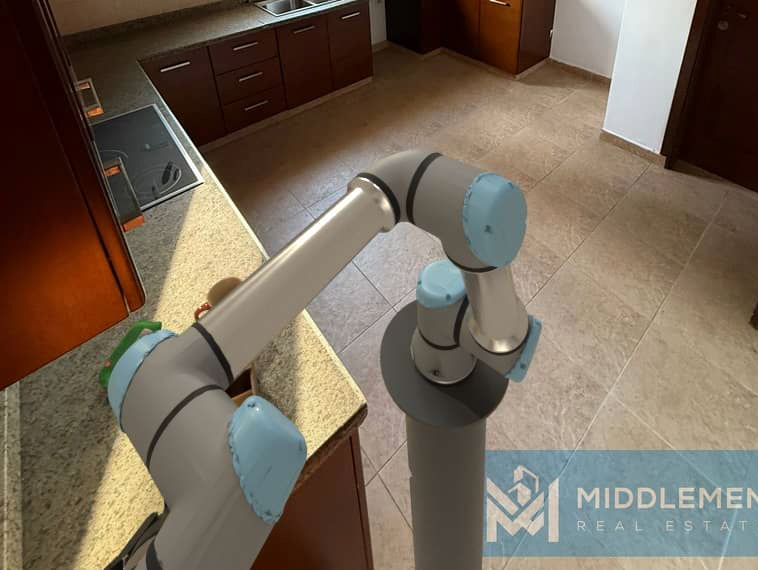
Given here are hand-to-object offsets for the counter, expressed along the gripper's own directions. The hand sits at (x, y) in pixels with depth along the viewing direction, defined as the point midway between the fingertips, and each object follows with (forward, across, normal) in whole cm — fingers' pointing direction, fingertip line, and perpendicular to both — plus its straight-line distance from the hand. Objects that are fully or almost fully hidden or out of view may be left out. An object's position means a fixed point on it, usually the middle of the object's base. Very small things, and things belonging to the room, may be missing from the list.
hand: (197, 483), depth 58 cm
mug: (+51, +2, +14) cm, 53 cm away
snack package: (+52, -18, +15) cm, 57 cm away
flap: (+20, 0, +3) cm, 20 cm away
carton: (+35, 0, -1) cm, 35 cm away
